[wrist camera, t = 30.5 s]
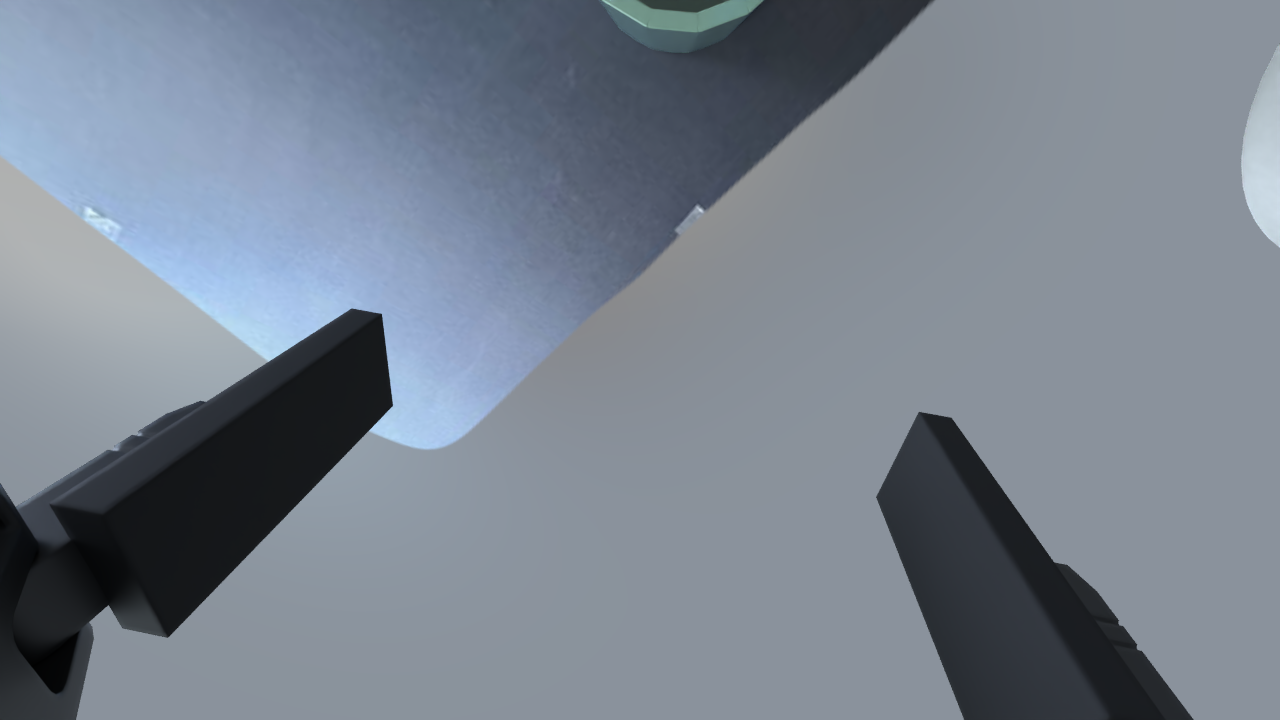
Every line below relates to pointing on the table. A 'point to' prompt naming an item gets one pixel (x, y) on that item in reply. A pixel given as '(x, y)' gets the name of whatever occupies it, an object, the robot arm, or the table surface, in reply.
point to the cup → (679, 21)
